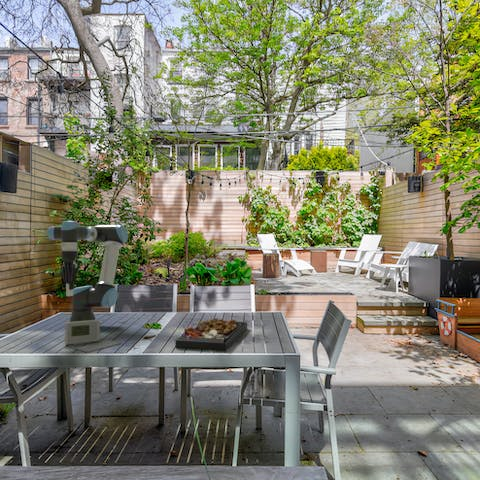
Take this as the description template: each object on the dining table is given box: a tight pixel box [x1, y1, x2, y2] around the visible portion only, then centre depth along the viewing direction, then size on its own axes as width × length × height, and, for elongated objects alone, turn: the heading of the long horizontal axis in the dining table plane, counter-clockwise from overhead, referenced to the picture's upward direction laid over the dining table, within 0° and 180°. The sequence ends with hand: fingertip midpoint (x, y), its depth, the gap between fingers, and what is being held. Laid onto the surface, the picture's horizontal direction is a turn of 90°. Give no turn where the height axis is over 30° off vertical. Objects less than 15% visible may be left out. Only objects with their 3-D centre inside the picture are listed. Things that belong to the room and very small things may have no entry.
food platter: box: [174, 317, 248, 352], centre depth 192 cm, size 45×25×10 cm, turn 166°
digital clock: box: [64, 319, 101, 346], centre depth 184 cm, size 16×9×11 cm, turn 102°
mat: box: [75, 339, 122, 353], centre depth 177 cm, size 10×18×1 cm, turn 145°
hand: (69, 295), depth 191 cm, fingers closed
